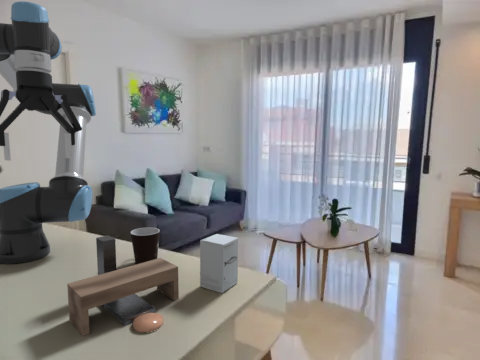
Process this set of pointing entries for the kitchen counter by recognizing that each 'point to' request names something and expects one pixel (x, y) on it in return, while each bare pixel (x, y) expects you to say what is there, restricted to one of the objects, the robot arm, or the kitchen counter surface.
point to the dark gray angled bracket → (126, 306)
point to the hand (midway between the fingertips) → (40, 159)
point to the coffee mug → (145, 244)
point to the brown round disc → (148, 322)
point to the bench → (119, 288)
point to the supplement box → (218, 262)
